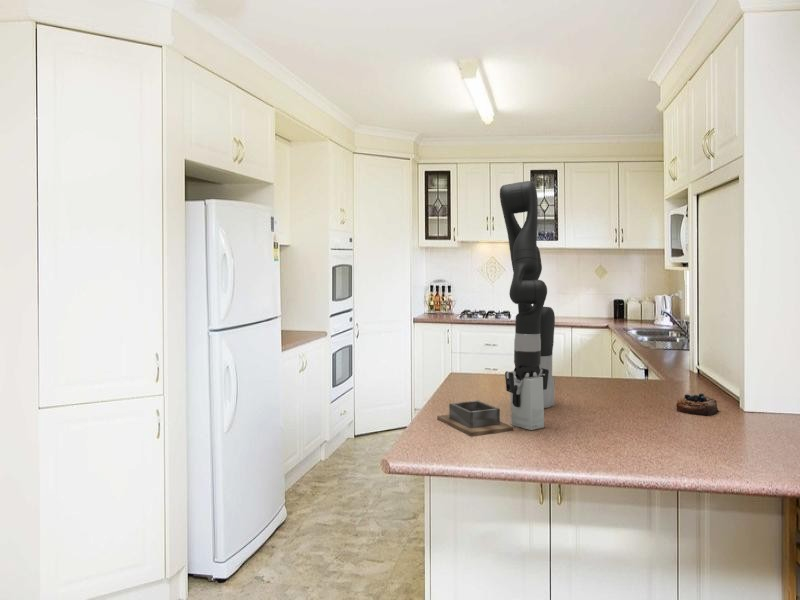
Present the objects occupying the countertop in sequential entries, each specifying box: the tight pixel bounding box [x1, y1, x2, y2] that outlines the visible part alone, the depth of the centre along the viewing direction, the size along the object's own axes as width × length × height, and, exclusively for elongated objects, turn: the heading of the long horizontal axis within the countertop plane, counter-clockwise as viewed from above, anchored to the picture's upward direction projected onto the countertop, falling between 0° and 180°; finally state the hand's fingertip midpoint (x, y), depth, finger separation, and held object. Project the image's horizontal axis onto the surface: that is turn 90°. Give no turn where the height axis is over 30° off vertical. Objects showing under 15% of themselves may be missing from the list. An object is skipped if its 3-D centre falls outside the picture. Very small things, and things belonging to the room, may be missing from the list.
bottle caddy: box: [436, 400, 514, 437], centre depth 177 cm, size 14×20×6 cm
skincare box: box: [510, 376, 545, 431], centre depth 175 cm, size 8×6×15 cm
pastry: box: [675, 392, 719, 417], centre depth 194 cm, size 11×12×6 cm
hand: (526, 405), depth 175 cm, fingers closed on skincare box, 6 cm apart
